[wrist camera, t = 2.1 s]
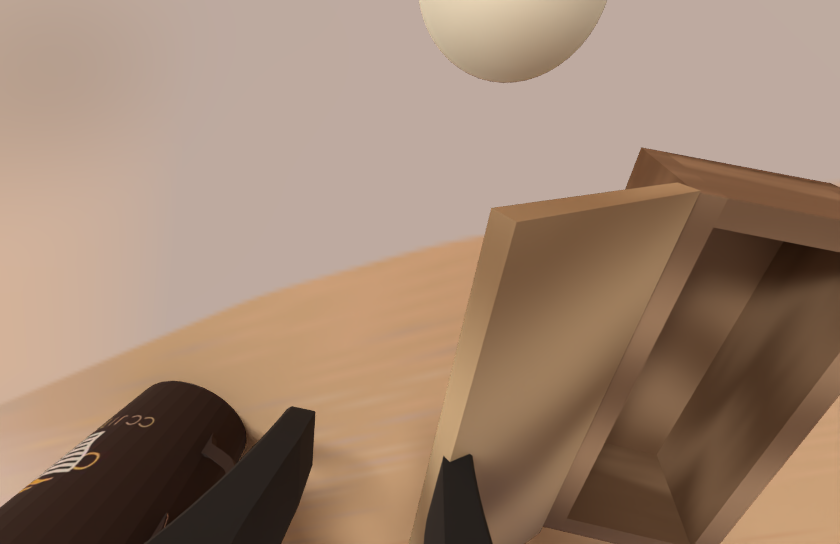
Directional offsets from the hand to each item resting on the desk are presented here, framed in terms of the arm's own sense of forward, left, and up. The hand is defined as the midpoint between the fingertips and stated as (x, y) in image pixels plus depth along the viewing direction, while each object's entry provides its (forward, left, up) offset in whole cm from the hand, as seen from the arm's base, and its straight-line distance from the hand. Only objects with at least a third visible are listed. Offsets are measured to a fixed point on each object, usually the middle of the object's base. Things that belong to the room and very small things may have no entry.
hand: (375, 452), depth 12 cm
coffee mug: (-12, +10, -9) cm, 18 cm away
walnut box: (0, -10, -9) cm, 13 cm away
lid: (0, -4, -2) cm, 4 cm away
